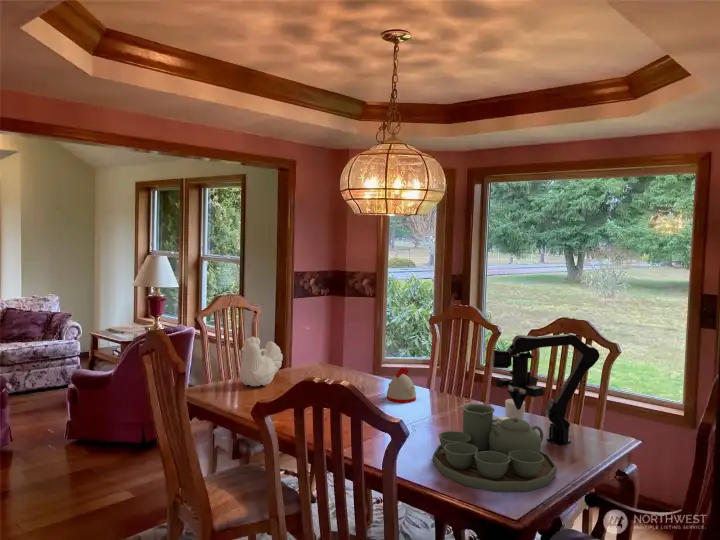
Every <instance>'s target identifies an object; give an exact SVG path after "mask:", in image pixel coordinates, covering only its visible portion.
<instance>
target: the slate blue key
mask: <svg viewBox="0 0 720 540" xmlns="http://www.w3.org/2000/svg"><path fill="white" fill-rule="evenodd" d="M497 418H500V417H499V416H497V415H494V414H493V422H497Z"/></svg>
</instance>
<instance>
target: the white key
mask: <svg viewBox="0 0 720 540" xmlns="http://www.w3.org/2000/svg"><path fill="white" fill-rule="evenodd" d="M505 419H510V418H507V417H506V416H500V417H499V418H497V424H500V425H501V422H502V421H503V420H505Z"/></svg>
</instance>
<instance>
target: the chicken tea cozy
mask: <svg viewBox="0 0 720 540" xmlns="http://www.w3.org/2000/svg"><path fill="white" fill-rule="evenodd" d="M409 372H410V370H409V368H407V366H402V367H400V368H399V370H397V372H396V373H395V376H394V377H393V378H392V380H391V381H390V382H389V383H388V388H387V391H386V398H387V399H388V400H387V399H386V398H385V399H386V400H387V401H389V402H391V401H392V403H399V404H408V403H413V402H414V403H415V402H416V401H417V394H416V393H417V392H416V386H415V385H414V383H413V381H412V380H411V378H410V377H409V376H408V374H409Z"/></svg>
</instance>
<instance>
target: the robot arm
mask: <svg viewBox="0 0 720 540" xmlns="http://www.w3.org/2000/svg"><path fill="white" fill-rule="evenodd" d="M560 346H562V347H564V346H571V347H573V349H574V348H575V350H577V351H578V353H577V356H576V359H575V360H576V361H575V364H574V367H573V369H572V370H571V372H570V373H569V375H568V377H567V378H566V380H565V383H564V384H563V385H562V387H561V389H560V391H559V393H558V395H557V396H556V397H555V398H551V397H550V398H549V399H548V402H547V403H546V405H545V410H544V411H545V416H546V417H547V418H548V421H550V422H551V423H550V424H549V428H548V438H546V441H549V442H550V443H554V444H556V445H559V446H562V445H566V444H570V443H572V441H571V440H569V435H570V434H569V433H570V432H569V431H570V426H571V423H570V422H569V421H568V419H567V418H566V414H567V411H568V406H569V403H570V400H571V399H572V397H573V395H574V393H575V392H576V390H577V389H578V386H579V385H580V383H581V381H582V380H583V377H584V376H585V374H586V373H587V372H588V370H590V369H591V368H592V367H594V365H595V364H596V363H597V361H598V360H599V359H600V353H599V351H598V349H597V348H595V347H594V346H592V345H591V344H586V343H585V342H583V341H582V340H581V339H580V338H578V337H577V336H576V335H575V334H574V333H572V332H569V333H564V334H554V335H544V336H543V335H542V336H533V335H523V334H517V335H516V336H514V337H513V339H512V342H511V344H510V345H509V346H508V348H507V349H506V350H498V349H494V350H493V352H492V353H493V355H492V359H491V360H492V361H491V364H492V368H493V369H509V368H510V367H511V366H512V367H511V368H512V370H509V374H510V375H511V378H508V377H507V378H506V377H503V378H498V379H497V380H496V382H495V387H498V388H500V389H502V388H504V387H505V386H506V387H508V389H507V390H506V391H507V393H508V394H509V396H510V397H511V399H513V402H514V404H515V406H516V408H517V409H518V410H520V409H521V406H522V404H523V402H524V401H525V399H526V398H527V397H528V396H529V397H531V398H537V397H541V396H544V395H545V390H544V388H543V387H541V386H538V381H539V378H538V377H535V376H532V375H531V372H530V371H529V359H535V358H534V355H533V354H532V353H531V351H535V350H537V349H540V348H551V347H560Z"/></svg>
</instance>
